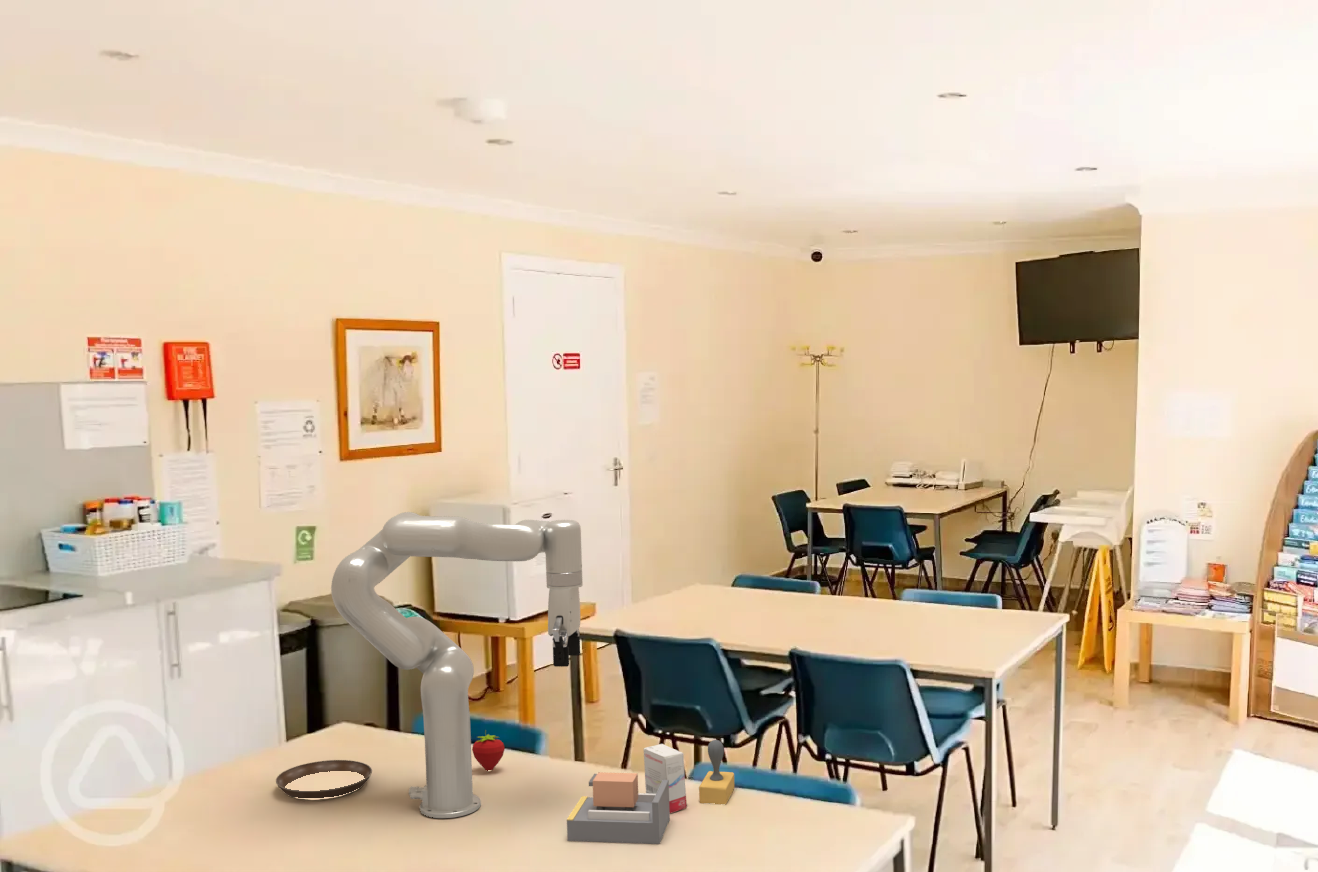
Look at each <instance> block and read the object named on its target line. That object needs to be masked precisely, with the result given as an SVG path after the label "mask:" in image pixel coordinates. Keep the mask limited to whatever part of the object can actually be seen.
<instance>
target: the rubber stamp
mask: <svg viewBox="0 0 1318 872" xmlns="http://www.w3.org/2000/svg"><path fill="white" fill-rule="evenodd" d="M724 748H725V747H724V745H723V742H721V740H718V739H712V740H711V741H710V742H709V743H708V746H707V755H708V758H709V760H710V762H711V764H712V765H711V766H712V769H713V771H711V770H709V771H708V772H707V773H706V775H705V776H704V778H703V779H702V781H701V782H700V784H699V787H698V792H699V793H698V795H699V799H698V801H699V804H704V803H715V804H714V805H721V804H725V805H726V804H727V803H728V801H729V800H730V797H731V795H732V794H733V792H734V790H735V773H734V772H732V771H731V772H730V771H720V766H721V764H722V760H723V757H724V753H725V752H724V751H725V749H724ZM733 789H734V790H733Z"/></svg>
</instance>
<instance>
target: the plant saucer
mask: <svg viewBox="0 0 1318 872" xmlns="http://www.w3.org/2000/svg"><path fill="white" fill-rule="evenodd" d="M328 771H329V772H330V771H351V772H357V773H359V774H361V775H363V776H364V778H365V779H363V780H361V781H359V782H357V783H354V784H351V785H348V786H344V787H340V788H335V789H329V790H320V791H299V790H291V789H287V788H285V786H286V785H287V784H288V783H291V782H292V781H294V780H296V779H298V778H301V777H303V776H306V775H310V774H315V773H319V772H328ZM372 773H373V769H372V767H371V766H370V765H368V764H367V763H364V762H361V761H356V760H351V759H349V760H348V759H329V760H321V761H320V760H319V761H314V762H312V761H311V762H308V763H303V764H300V765H297V766H293V767H290V768H288V769H286V770H284V771H282V772H281V773H280V774H278V775H277V777H276V779H275V784H276V785H277V788H279V789H280V790H281V791H282V792H283V793H284V794H285V795H287V796H288V795H289V796H288V797H290V796H291V797H290V798H292V797H298V798H324V797H334V796H339V795H343V794H346V793H349V792H352V791H354V790H356V789H358V788H360V787H361V786H362V787H363V786H364V785H365V784H366V783H367V782H368V780H369V778H370V777H371V775H372ZM362 787H361V788H362ZM361 788H360V789H361ZM358 790H359V789H358Z"/></svg>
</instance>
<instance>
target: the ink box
mask: <svg viewBox="0 0 1318 872" xmlns="http://www.w3.org/2000/svg"><path fill="white" fill-rule="evenodd" d="M643 761H644V762H643V764H644V782H645V783H644V784H645V793H649V794H656V793H657V791H658V789H659V787H660V784H661V782H662V780H669V810H670V814H672V813H676V812H678V811H682V810H684V809H687V808H688V806H687V793H686V776H685V774H686V773H685V761H684V752H682V751H680V750H677V749H674V748H673V747H670V746H668V745H666V744H663V743H659V744H655V745H651V746H647V747H644V748H643Z"/></svg>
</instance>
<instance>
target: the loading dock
mask: <svg viewBox="0 0 1318 872" xmlns="http://www.w3.org/2000/svg"><path fill="white" fill-rule="evenodd" d="M596 807H597V806H593V796H592V797H589V796H587V795H586V796H585V795H582V796H581V797H580V799H579V800H578V802H577V803H576V804H575V806H574V807H573V808H572V811H571V812H570V814H569V816H568V817H567V818H566V829H567V830H566V833H567V834H566V835H567V842H590V843H591V842H592V843H616V844H619V843H622V844H648V845H650V844H651V845H660V844H661V841H662V838H663V837H664V834H665V831H666V829H667V827H668V825H669V822H670V819H671V817H670V816H671V815H670V814H671V813H670V810H669V780H662V782H661V784H660V787H659V789H658V791H657V793H656V794H649V793H646V792H645V793H643V792H638V800H637V802H636V805H635V806H634V807H632V808H633V810H632V811H625V810H624V808H625V807H606V806H604V808H605V809H604V810H597V809H596Z"/></svg>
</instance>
